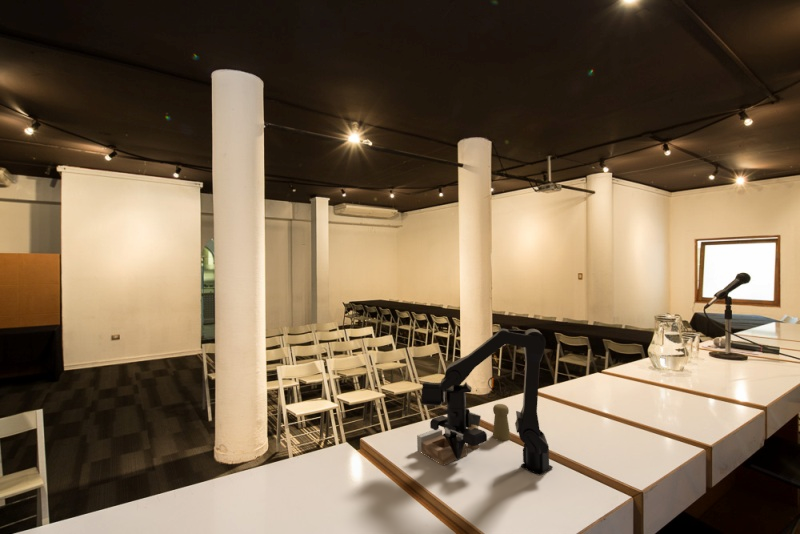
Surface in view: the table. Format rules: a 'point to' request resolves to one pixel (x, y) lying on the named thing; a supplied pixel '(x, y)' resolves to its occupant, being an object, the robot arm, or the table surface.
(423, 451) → the socket block
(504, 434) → the cork
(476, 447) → the dowel
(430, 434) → the wall
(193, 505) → the table surface
